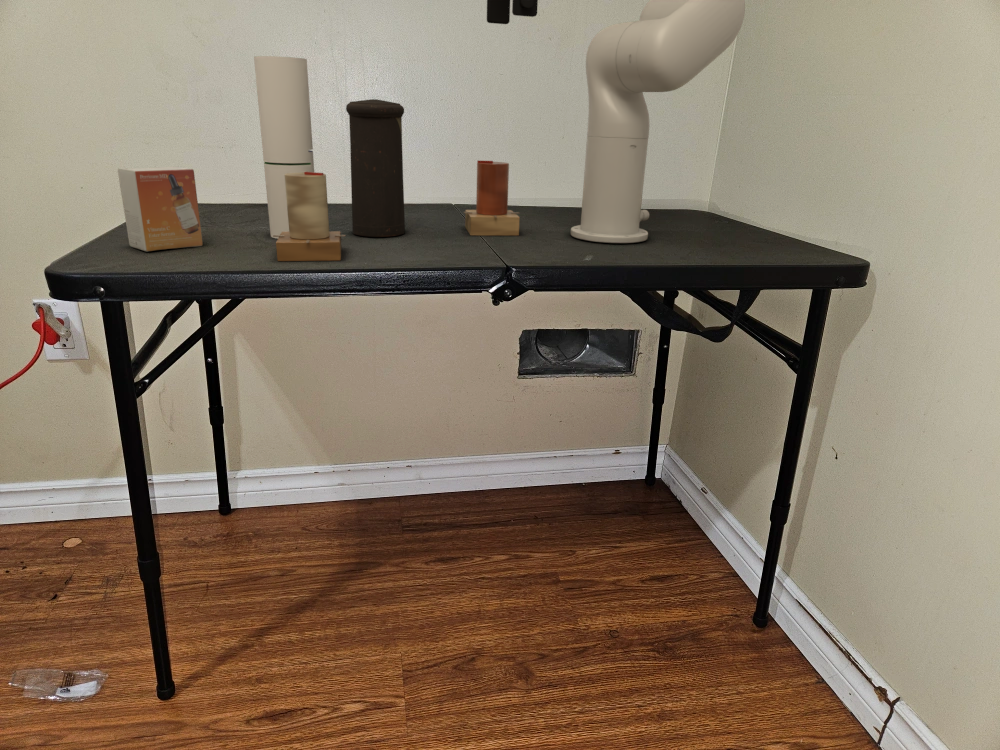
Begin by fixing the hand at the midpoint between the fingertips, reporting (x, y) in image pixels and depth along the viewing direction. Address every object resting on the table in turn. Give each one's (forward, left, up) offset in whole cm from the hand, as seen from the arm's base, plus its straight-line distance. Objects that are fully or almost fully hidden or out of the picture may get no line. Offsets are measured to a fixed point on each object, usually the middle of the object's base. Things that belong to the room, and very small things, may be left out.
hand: (510, 19), depth 90 cm
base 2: (-9, -10, -30) cm, 33 cm away
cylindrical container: (+17, -28, -31) cm, 45 cm away
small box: (+35, -32, -31) cm, 56 cm away
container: (+6, -21, -31) cm, 38 cm away
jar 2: (-10, -11, -27) cm, 31 cm away
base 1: (+24, -14, -30) cm, 41 cm away
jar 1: (+24, -14, -28) cm, 39 cm away
